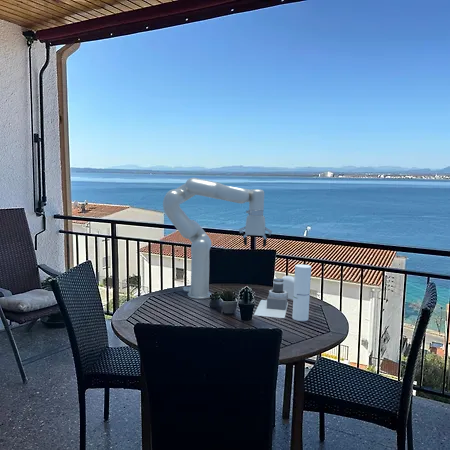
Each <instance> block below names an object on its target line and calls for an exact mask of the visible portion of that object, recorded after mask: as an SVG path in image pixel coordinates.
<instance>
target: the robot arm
mask: <svg viewBox="0 0 450 450" xmlns="http://www.w3.org/2000/svg"><path fill="white" fill-rule="evenodd" d="M196 195H197V196H201V197H206V198H210V199H215V200H221V201H226V202H231V203H236V204H240V205H241V204H245V203H248V210H246V211H245V214H248V215H246V219H245V225H244V226H243V227H241V228H239V229H238V232H239V234H240V236H242V238H243V244H244V246H247V245H248V237H247V236H259V237H260V236H261V237H262V238H263V239H262V247H263V248H265V247H266V246H267V239H268V238H269V237H270V236H271V234H272V232H273V230H272V229H269V228H268V227H266V218H265V216H264V210H265V208H264V207H265V191H264V190H263V189H258V188H257V189H254V188H253V189H251V188H250V189H248V188H245V187H244V188H243V187H236V186H235V187H234V186H229V185H226V184H223V183H220V182H217V181H213V180H208V179H202V178H198V177H190V178H188V179H187V180H186V182H185V183H183V184H181V185H180V186H178V187H176V188H173V189H170V190H168V191H167V192H166V194H165V195H164V197H163V201H162V207H163V211H164V214H165V215H166V217H167V218H168V219H169V221H170V222H171V223H172V225H173V226H174V227H175V228H176V230H177V232H179V234H180V235H181V237H183V238H184V239H187V240H189V241H190V242H191V247H190V256H191V260H190V261H191V264H190V265H191V266H190V268H191V269H190V271H191V272H190V286H183V288H182V289H183V292H188V293H187V297H189V298H191V299H198V300H204V299H205V300H206V299H209V298H211V297H210V295H211V296H212V293H211V292H210V291H209V285H210V250H211V247H212V244H213V243H212V240H211V238H210V236H209V235H208V234H207V233H206V231H205V230H204V228H203V227H202V226H201V225H200V224H199V223H198V221H196V220H194V219H190V217H189V216H188V214H186V213H185V211H184V210H183V208H181V206H180V205H182V204H183V203H186V201H189V200H190V199H191V198H193V197H195V196H196ZM243 231H244V232H245V233H244V232H243ZM266 232H267V235H266Z"/></svg>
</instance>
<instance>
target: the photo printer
mask: <svg viewBox="0 0 450 450" xmlns="http://www.w3.org/2000/svg"><path fill="white" fill-rule="evenodd" d="M294 277H295V276H291V275H284V276H282V278H281V279H283V280H284V283H283V290H285V291H286V292H287V293H288V300H291V301H293V296H294Z"/></svg>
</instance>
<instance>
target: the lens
mask: <svg viewBox="0 0 450 450" xmlns="http://www.w3.org/2000/svg"><path fill="white" fill-rule="evenodd" d="M272 280H273V281H272V282H273V284H272V289H273V292H274V293H283V283H284V280H283V279H282V278H273V279H272Z"/></svg>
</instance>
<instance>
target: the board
mask: <svg viewBox="0 0 450 450" xmlns="http://www.w3.org/2000/svg"><path fill="white" fill-rule="evenodd" d="M288 307H289V301H287V306H286V310H278V309H268V308H267V299H261V300H260V301H259V303H258V306H257V308H256V310H255V311H254V313H253V315H254V316H259V317H269V318H279V319H285V317H286V314H287V309H288Z"/></svg>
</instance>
